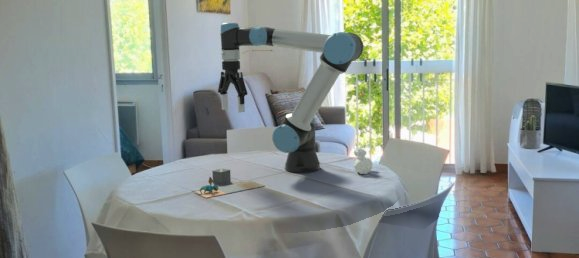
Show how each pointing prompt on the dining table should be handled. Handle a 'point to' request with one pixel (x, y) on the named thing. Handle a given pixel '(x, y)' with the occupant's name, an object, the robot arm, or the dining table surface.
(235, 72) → the robot arm
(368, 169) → the duck figurine
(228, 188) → the game board
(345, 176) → the dining table surface
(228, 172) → the die
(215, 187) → the dragon figurine
